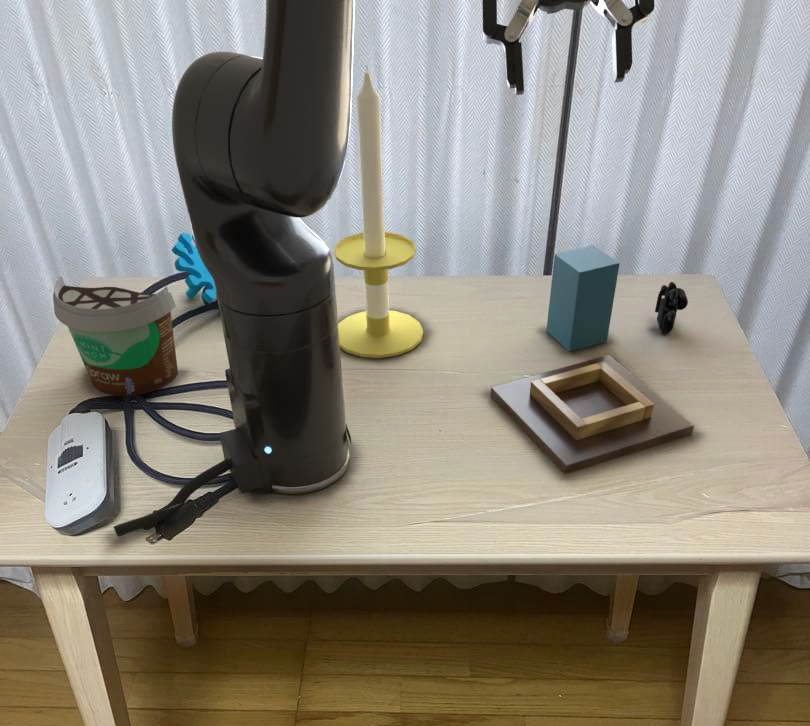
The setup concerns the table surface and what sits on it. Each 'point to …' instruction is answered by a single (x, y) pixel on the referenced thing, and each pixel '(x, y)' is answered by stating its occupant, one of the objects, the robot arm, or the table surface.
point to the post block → (582, 297)
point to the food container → (120, 335)
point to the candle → (375, 251)
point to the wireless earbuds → (669, 306)
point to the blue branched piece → (193, 268)
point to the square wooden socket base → (590, 413)
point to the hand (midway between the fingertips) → (569, 86)
